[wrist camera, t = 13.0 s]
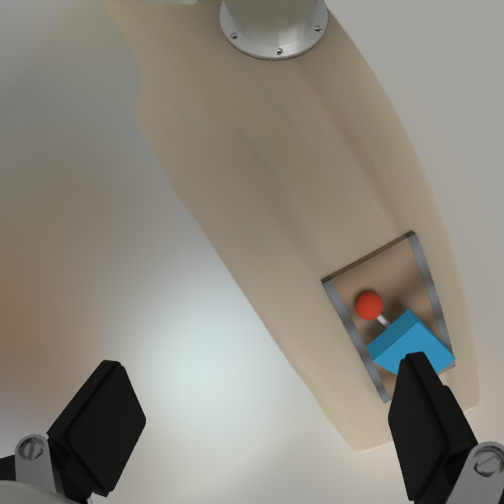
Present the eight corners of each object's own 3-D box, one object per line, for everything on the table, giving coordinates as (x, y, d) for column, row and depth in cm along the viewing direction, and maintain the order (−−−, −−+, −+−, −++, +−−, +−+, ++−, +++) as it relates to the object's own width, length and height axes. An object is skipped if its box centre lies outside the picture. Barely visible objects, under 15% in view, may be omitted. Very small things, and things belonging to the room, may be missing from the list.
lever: (434, 328, 42) (376, 271, 35) (455, 358, 36) (403, 307, 29) (402, 356, 44) (336, 310, 37) (420, 388, 38) (355, 350, 31)
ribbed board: (321, 279, 38) (322, 283, 37) (411, 230, 35) (415, 233, 33) (382, 398, 43) (383, 403, 42) (452, 361, 40) (455, 365, 38)
